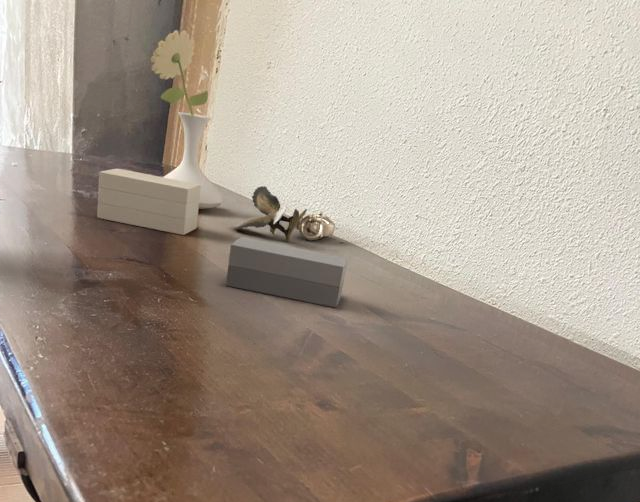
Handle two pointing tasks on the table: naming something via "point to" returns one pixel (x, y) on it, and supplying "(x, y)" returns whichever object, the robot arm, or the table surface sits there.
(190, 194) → the white book
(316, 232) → the ornament
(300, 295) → the grey books
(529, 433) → the table surface
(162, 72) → the flower in vase
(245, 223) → the eagle figurine
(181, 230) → the white books
